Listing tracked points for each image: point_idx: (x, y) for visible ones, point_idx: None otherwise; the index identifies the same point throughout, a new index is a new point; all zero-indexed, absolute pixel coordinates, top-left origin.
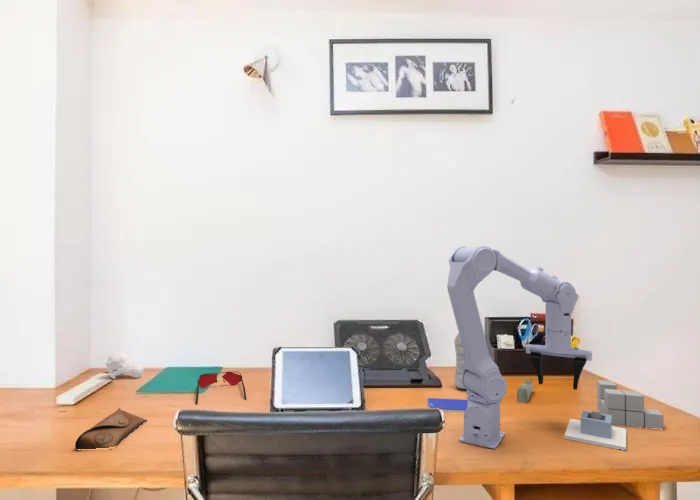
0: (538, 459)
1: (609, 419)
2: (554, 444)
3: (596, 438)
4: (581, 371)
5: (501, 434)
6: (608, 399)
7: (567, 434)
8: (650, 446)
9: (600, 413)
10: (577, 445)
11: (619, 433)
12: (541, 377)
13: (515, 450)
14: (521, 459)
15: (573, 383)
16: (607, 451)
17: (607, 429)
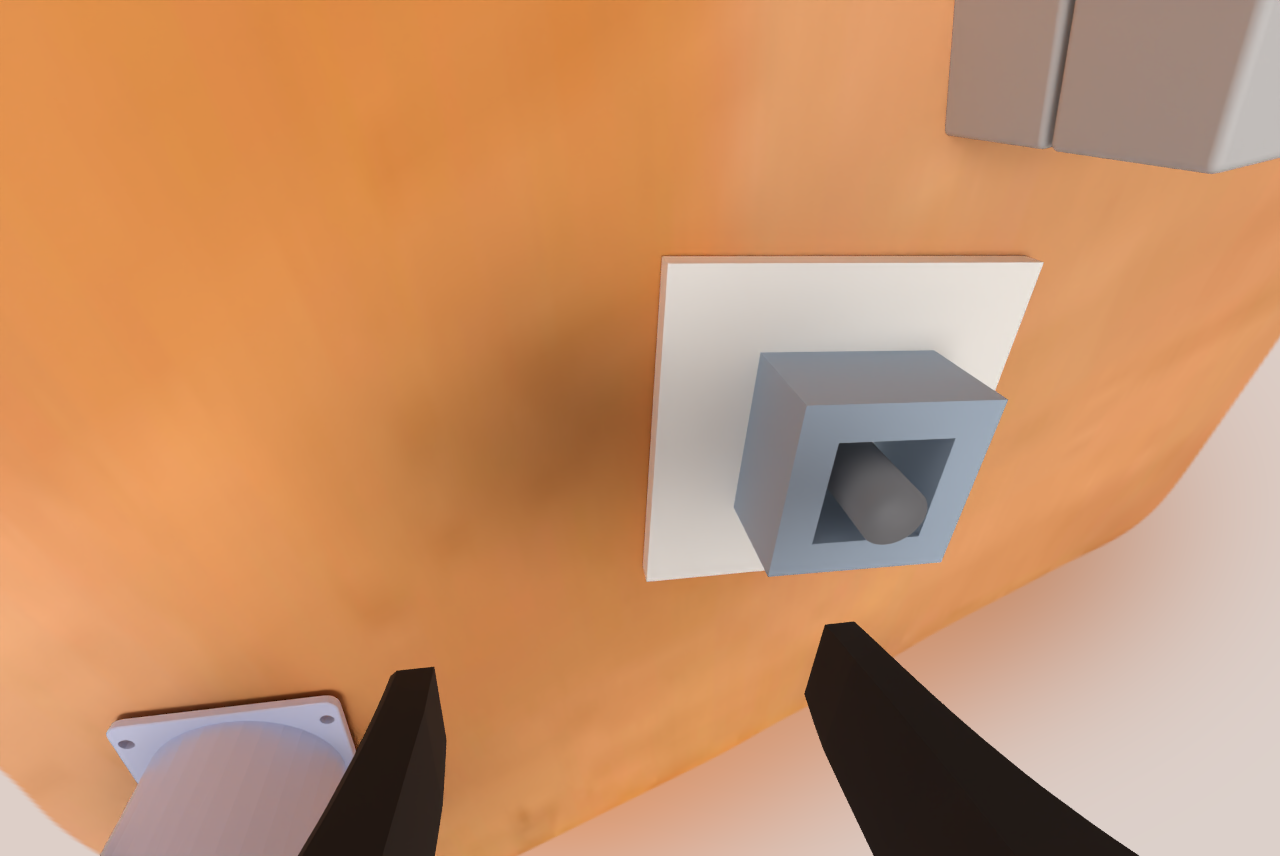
0: (563, 784)
1: (958, 498)
2: (601, 648)
3: None
4: (1067, 827)
5: (331, 731)
6: (1145, 160)
7: (661, 564)
8: (1067, 419)
9: (925, 510)
10: (707, 601)
11: None
12: (432, 845)
13: (456, 777)
14: (504, 814)
15: (837, 775)
16: (835, 587)
17: None
